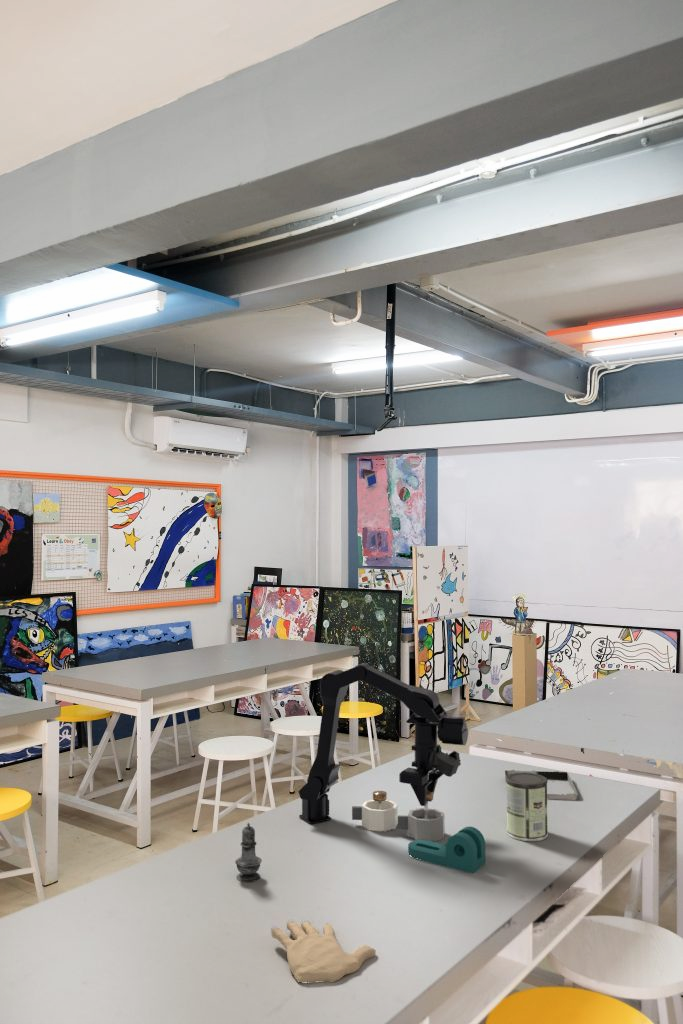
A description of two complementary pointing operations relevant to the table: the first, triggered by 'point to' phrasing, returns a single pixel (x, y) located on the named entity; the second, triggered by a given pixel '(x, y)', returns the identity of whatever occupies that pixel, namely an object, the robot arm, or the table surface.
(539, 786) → the coffee can
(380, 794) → the brown and grey doorknob
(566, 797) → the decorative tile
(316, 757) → the robot arm
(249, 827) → the salt shaker
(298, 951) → the hand model
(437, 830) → the grey octagonal hollow piece
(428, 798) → the coffee tamper
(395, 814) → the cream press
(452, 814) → the table surface
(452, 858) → the bracket
